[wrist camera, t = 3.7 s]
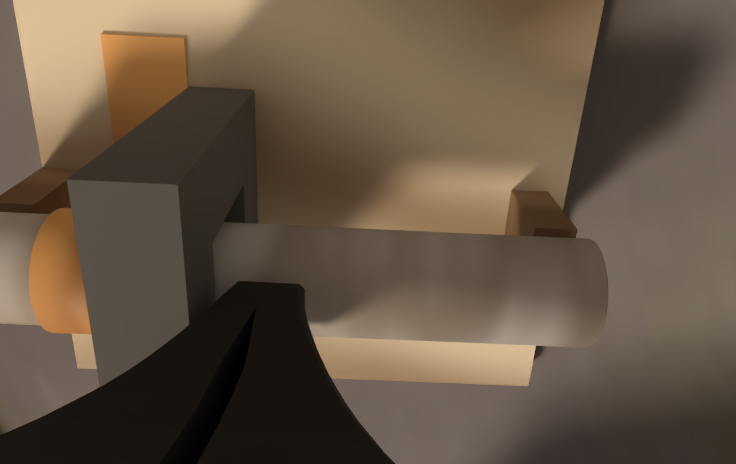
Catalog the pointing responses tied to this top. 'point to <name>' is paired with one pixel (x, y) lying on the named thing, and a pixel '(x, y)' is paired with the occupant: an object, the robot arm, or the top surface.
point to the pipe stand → (341, 168)
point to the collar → (161, 220)
